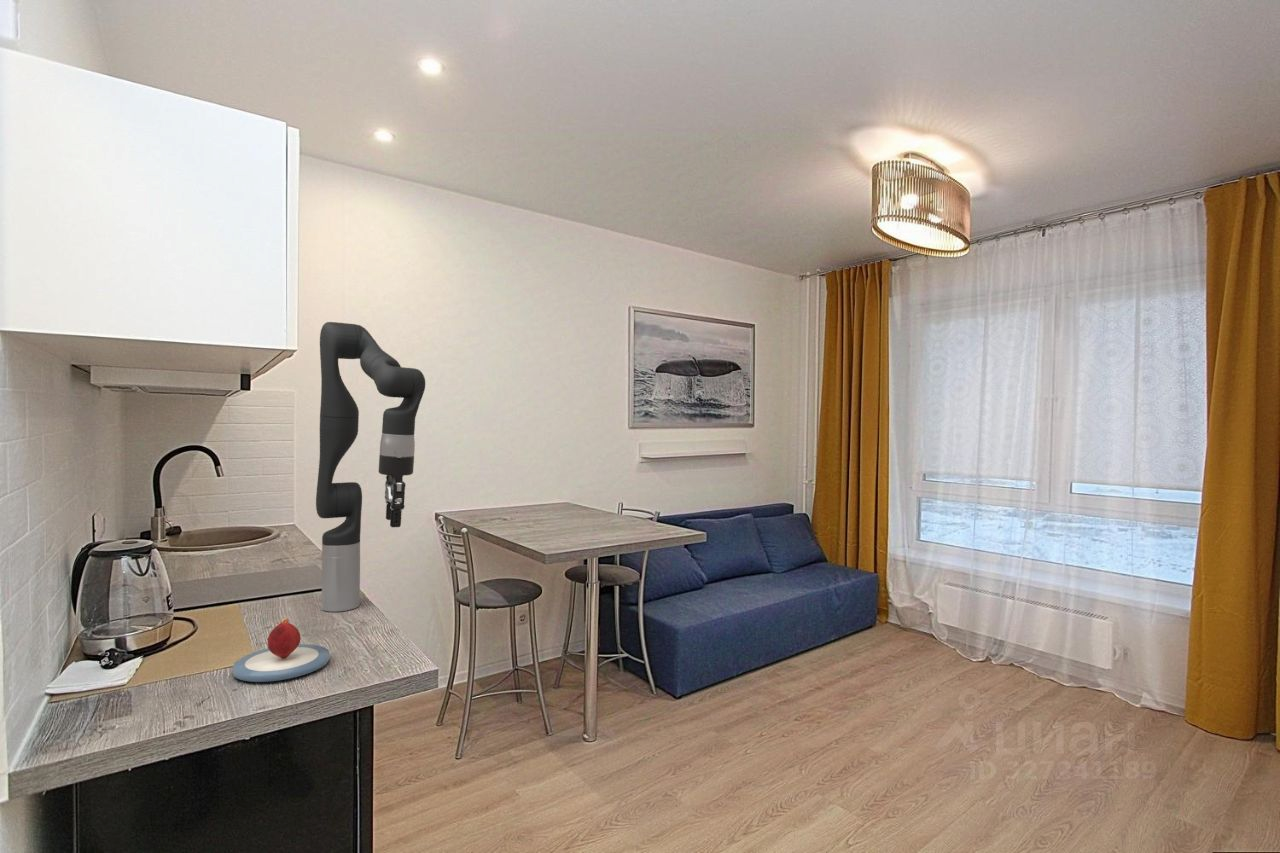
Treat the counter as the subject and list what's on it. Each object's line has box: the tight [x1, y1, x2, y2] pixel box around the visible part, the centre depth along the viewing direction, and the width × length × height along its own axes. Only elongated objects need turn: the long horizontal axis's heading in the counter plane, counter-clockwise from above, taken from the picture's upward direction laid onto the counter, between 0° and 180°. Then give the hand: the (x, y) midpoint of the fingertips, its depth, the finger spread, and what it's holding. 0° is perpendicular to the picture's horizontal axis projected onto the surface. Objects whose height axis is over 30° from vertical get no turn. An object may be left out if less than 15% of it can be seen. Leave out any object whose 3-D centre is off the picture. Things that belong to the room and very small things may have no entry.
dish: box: [232, 643, 330, 683], centre depth 130 cm, size 17×17×2 cm
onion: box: [267, 617, 302, 658], centre depth 130 cm, size 6×6×8 cm
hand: (392, 523), depth 150 cm, fingers open, 8 cm apart
